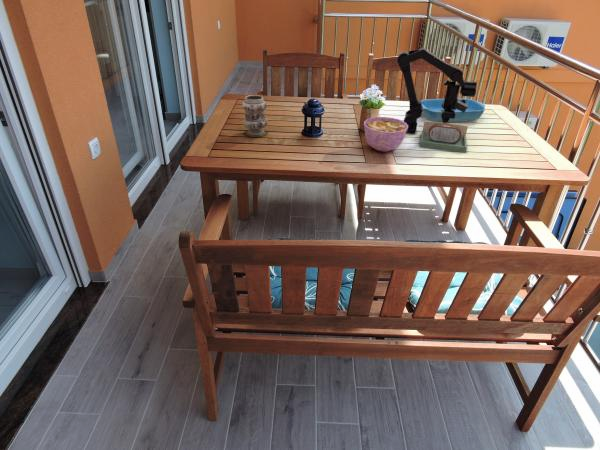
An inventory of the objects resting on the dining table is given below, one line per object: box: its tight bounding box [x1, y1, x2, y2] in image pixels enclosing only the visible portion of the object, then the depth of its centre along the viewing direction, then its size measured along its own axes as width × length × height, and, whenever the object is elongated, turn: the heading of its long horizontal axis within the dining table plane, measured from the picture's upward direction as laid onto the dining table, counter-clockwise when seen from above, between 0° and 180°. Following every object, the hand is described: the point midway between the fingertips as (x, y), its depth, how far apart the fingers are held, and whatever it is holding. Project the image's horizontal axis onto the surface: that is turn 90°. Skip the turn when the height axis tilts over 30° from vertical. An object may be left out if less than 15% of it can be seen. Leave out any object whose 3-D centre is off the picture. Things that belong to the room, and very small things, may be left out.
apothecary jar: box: [241, 94, 269, 138], centre depth 203 cm, size 12×12×18 cm
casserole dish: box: [421, 97, 486, 123], centre depth 232 cm, size 37×22×7 cm, turn 97°
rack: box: [419, 120, 469, 153], centre depth 200 cm, size 21×16×8 cm
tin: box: [429, 124, 461, 143], centre depth 199 cm, size 15×3×8 cm, turn 73°
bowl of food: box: [363, 116, 408, 153], centre depth 192 cm, size 20×20×12 cm
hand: (444, 126), depth 208 cm, fingers closed
